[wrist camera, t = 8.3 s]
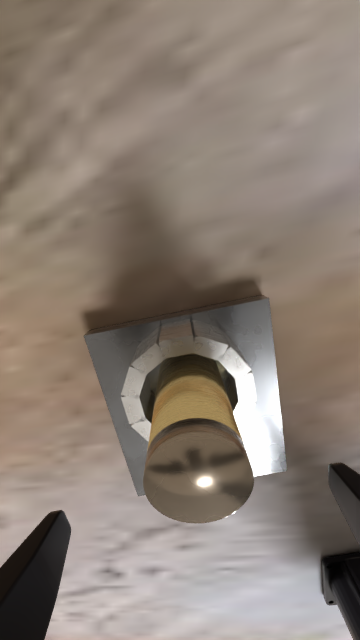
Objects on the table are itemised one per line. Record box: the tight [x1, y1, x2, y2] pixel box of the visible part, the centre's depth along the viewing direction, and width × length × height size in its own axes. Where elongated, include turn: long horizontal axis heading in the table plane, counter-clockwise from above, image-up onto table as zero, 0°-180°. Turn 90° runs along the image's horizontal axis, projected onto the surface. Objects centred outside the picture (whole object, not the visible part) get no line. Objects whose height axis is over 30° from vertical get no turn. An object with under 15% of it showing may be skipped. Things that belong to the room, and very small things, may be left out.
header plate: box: [84, 295, 287, 517], centre depth 16 cm, size 14×12×4 cm
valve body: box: [143, 353, 254, 523], centre depth 13 cm, size 4×4×8 cm
